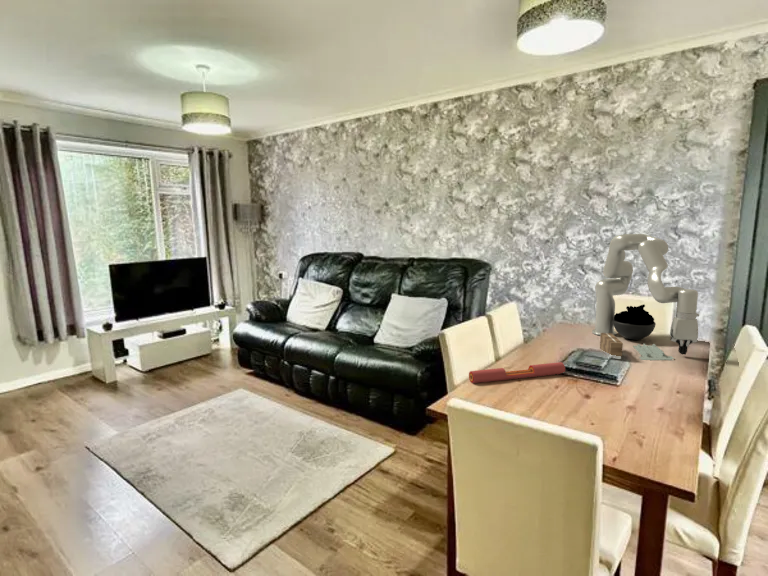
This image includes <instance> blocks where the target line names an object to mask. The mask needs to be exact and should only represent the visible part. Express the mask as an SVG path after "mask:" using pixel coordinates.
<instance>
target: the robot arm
mask: <svg viewBox="0 0 768 576" xmlns="http://www.w3.org/2000/svg"><path fill="white" fill-rule="evenodd" d="M608 246H609V247H608V252H607V256H606V259H605V263H604V266H603V270H602V273H603V275H604V277H606V278H605V279H601V280H599V281H597V282H596V284H595V287H594V289H595V295H596V297H595V299H596V303H595V304H596V305H595V326H594V329H592V330H591V334H593V335H595V336H600V337H601V333H612V334H613V335H614V336H615V337H616V336H617V333H618V332H617V331H616V330H615V327H614V325H613V319H614V316H615V314H616V302H615V299H614V297H613V296H620V295H623V294H625V293H626V292H627V291H628V288H629V286H630V282H631V281H632V280H631V279H632V276H633V272H634V268H633V264H632V263H631V262H630V261H628V260H625V258H626V251H638V252H639V254H640V257H641V258H642V261H643V263H644V265H645V267H646V269H647V271H648V275H647V287H648V290H649V292H650V293H651V296H652V297H653V299H654V300H655V301H656V302H657V303H659V304H669V303H670V304H671V303H676V313H675V317H673V319H672V322H671V324H670V325H671V326H670V331H669V336H670V339H669V340H670V341H671V342H674V343H676V344H677V345H678V353H679V354H680V355H685V356H686V354H687V353H688V347H689V346H690V345H691V344H695V343H698V338H699V322H698V319H697V318H698V317H700V314H699V313H697V309H698V308H697V307H698V297H699V292H698V291H697V290H695V289H691V288H683V287H680V286H665V285H664V283H663V281H662V277H661V276H662V273H663V272H664V271H665V270H666V269H668V268H669V267H668V266H669V265H668V262H667V261H666V259H665V257H664V255H666V254H667V253H668V251H669V245H668V243H667V242H666V241H665V240H664V239H662V238H658V237H654V236H652V235H649V234H645V233H625V234H618V235H616V236H613V238H612V239H611V240H610V243H609V245H608Z"/></svg>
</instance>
